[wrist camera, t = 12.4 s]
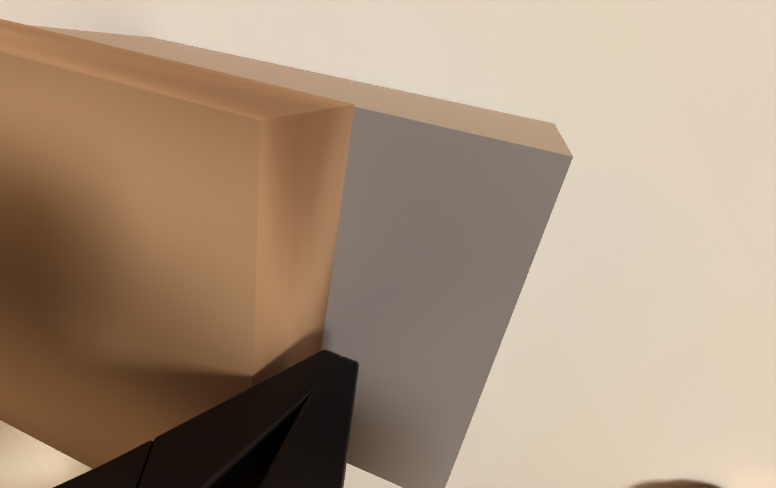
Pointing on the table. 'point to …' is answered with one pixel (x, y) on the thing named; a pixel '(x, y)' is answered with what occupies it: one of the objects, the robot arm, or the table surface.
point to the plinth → (416, 252)
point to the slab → (154, 237)
